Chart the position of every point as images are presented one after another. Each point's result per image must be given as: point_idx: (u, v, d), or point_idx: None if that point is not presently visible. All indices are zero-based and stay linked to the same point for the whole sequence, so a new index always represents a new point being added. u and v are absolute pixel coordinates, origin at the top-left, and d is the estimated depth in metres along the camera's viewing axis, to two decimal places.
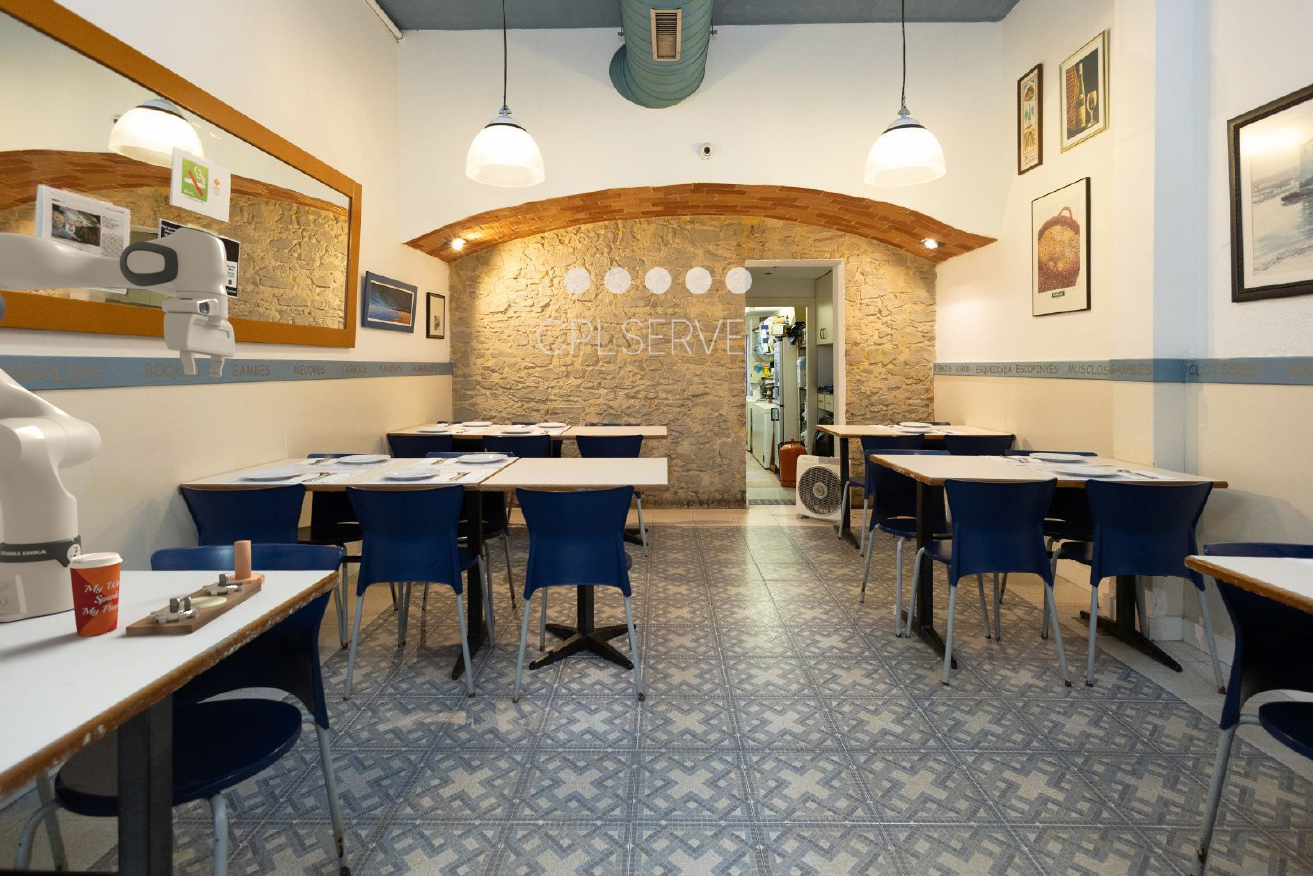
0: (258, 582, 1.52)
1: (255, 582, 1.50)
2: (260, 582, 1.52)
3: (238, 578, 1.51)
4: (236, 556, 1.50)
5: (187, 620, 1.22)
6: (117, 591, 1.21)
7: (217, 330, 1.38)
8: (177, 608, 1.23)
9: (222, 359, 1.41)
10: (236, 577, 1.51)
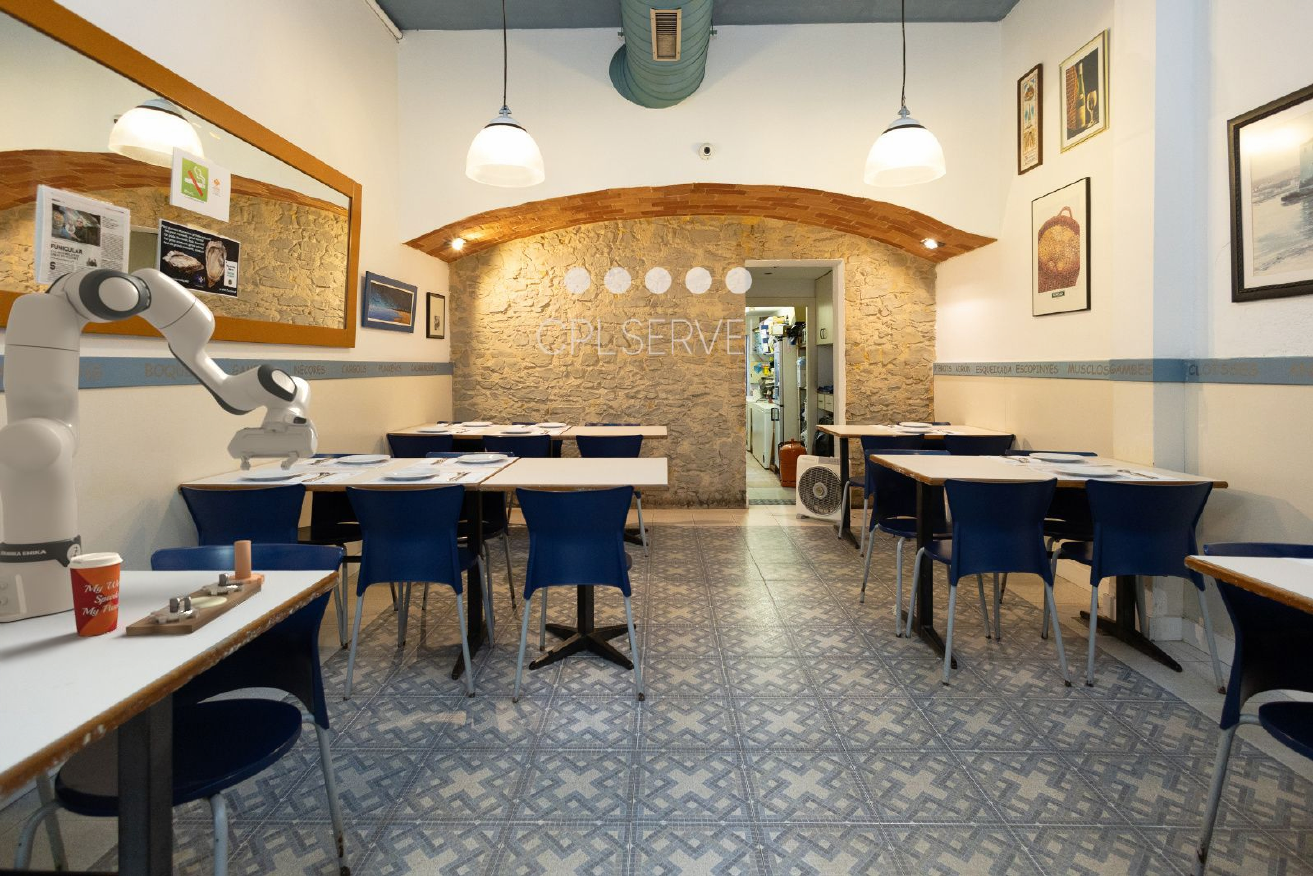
0: (258, 582, 1.52)
1: (255, 582, 1.50)
2: (260, 582, 1.52)
3: (238, 578, 1.51)
4: (236, 556, 1.50)
5: (187, 620, 1.22)
6: (117, 591, 1.21)
7: None
8: (177, 608, 1.23)
9: None
10: (236, 577, 1.51)
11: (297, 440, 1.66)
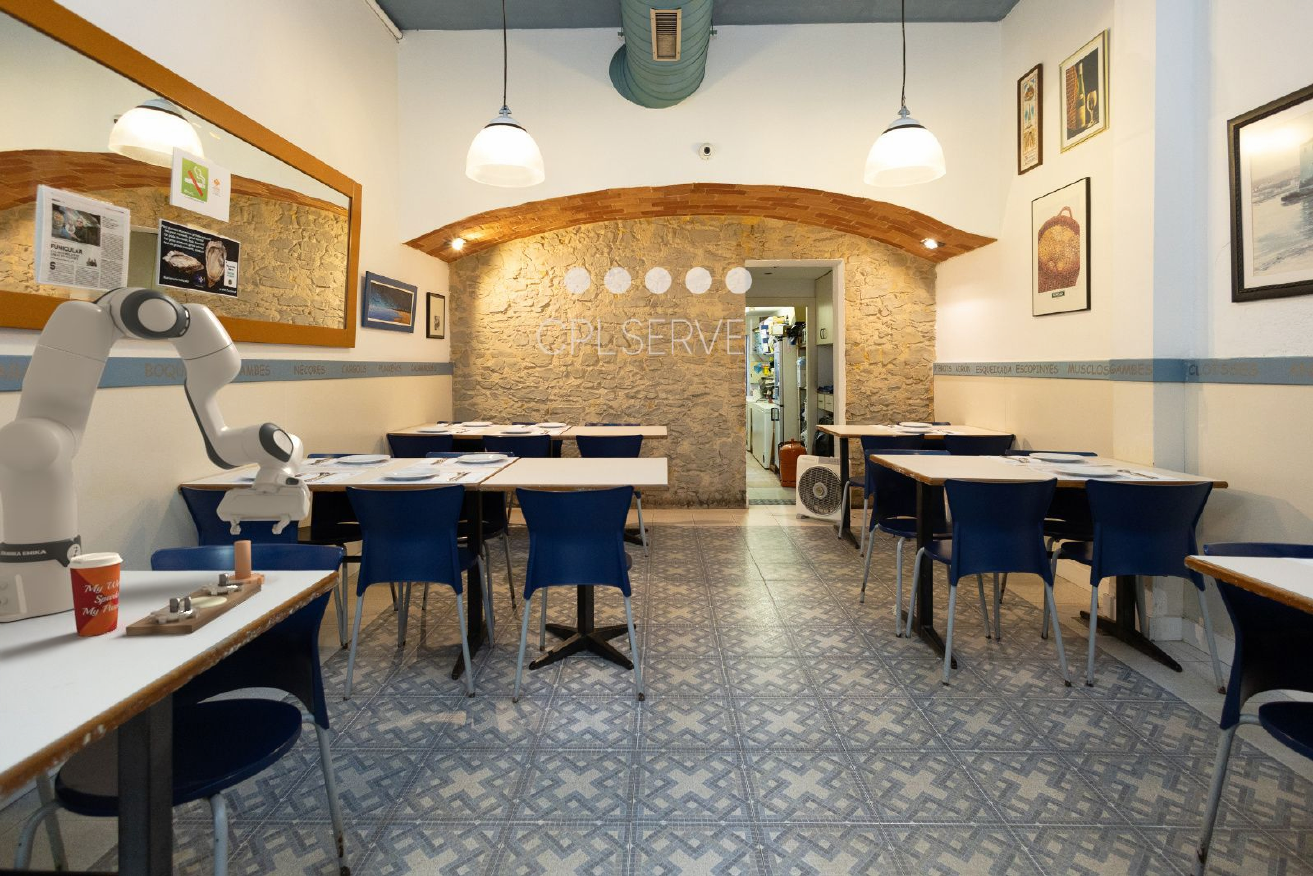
0: (258, 582, 1.52)
1: (255, 582, 1.50)
2: (260, 582, 1.52)
3: (238, 578, 1.51)
4: (236, 556, 1.50)
5: (187, 620, 1.22)
6: (117, 591, 1.21)
7: None
8: (177, 608, 1.23)
9: None
10: (236, 577, 1.51)
11: (289, 502, 1.63)
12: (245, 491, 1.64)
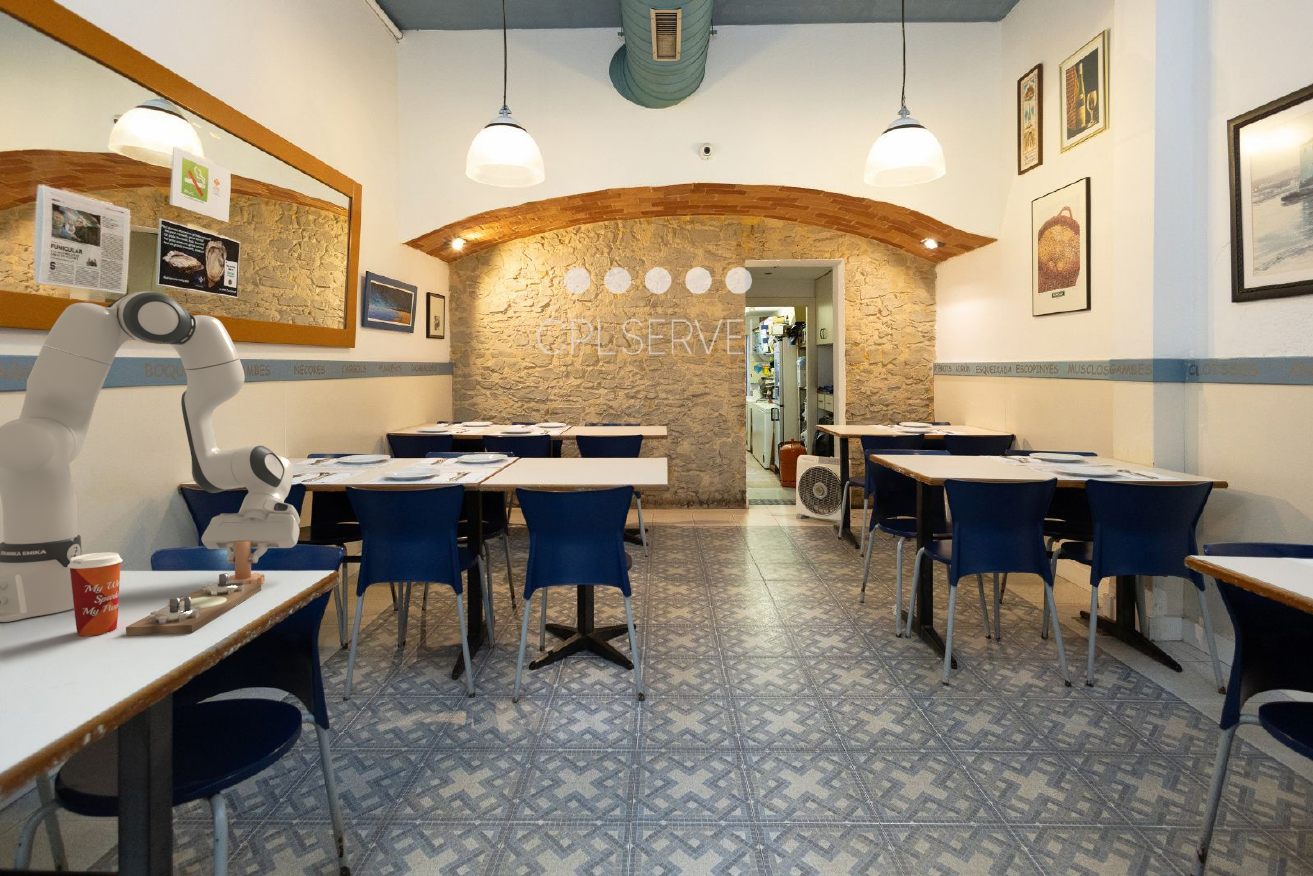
0: (258, 582, 1.52)
1: (255, 582, 1.50)
2: (260, 582, 1.52)
3: (238, 578, 1.51)
4: (236, 556, 1.50)
5: (187, 620, 1.22)
6: (117, 591, 1.21)
7: None
8: (177, 608, 1.23)
9: None
10: (236, 577, 1.51)
11: (277, 529, 1.56)
12: (232, 517, 1.57)
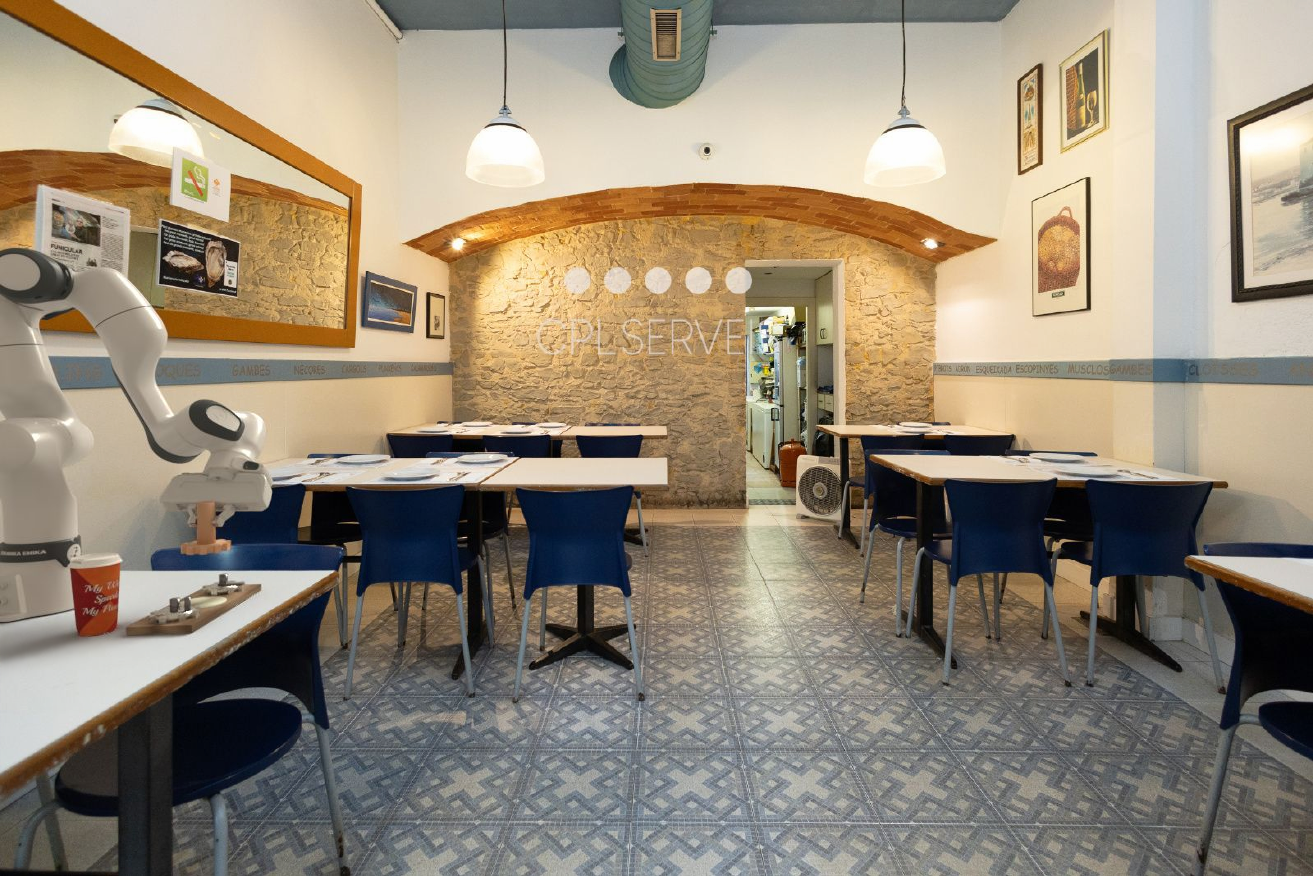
0: (223, 548, 1.35)
1: (220, 548, 1.33)
2: (226, 548, 1.35)
3: (200, 543, 1.33)
4: (198, 518, 1.33)
5: (187, 620, 1.22)
6: (117, 591, 1.21)
7: None
8: (177, 608, 1.23)
9: None
10: (198, 542, 1.33)
11: (246, 490, 1.39)
12: (195, 477, 1.40)
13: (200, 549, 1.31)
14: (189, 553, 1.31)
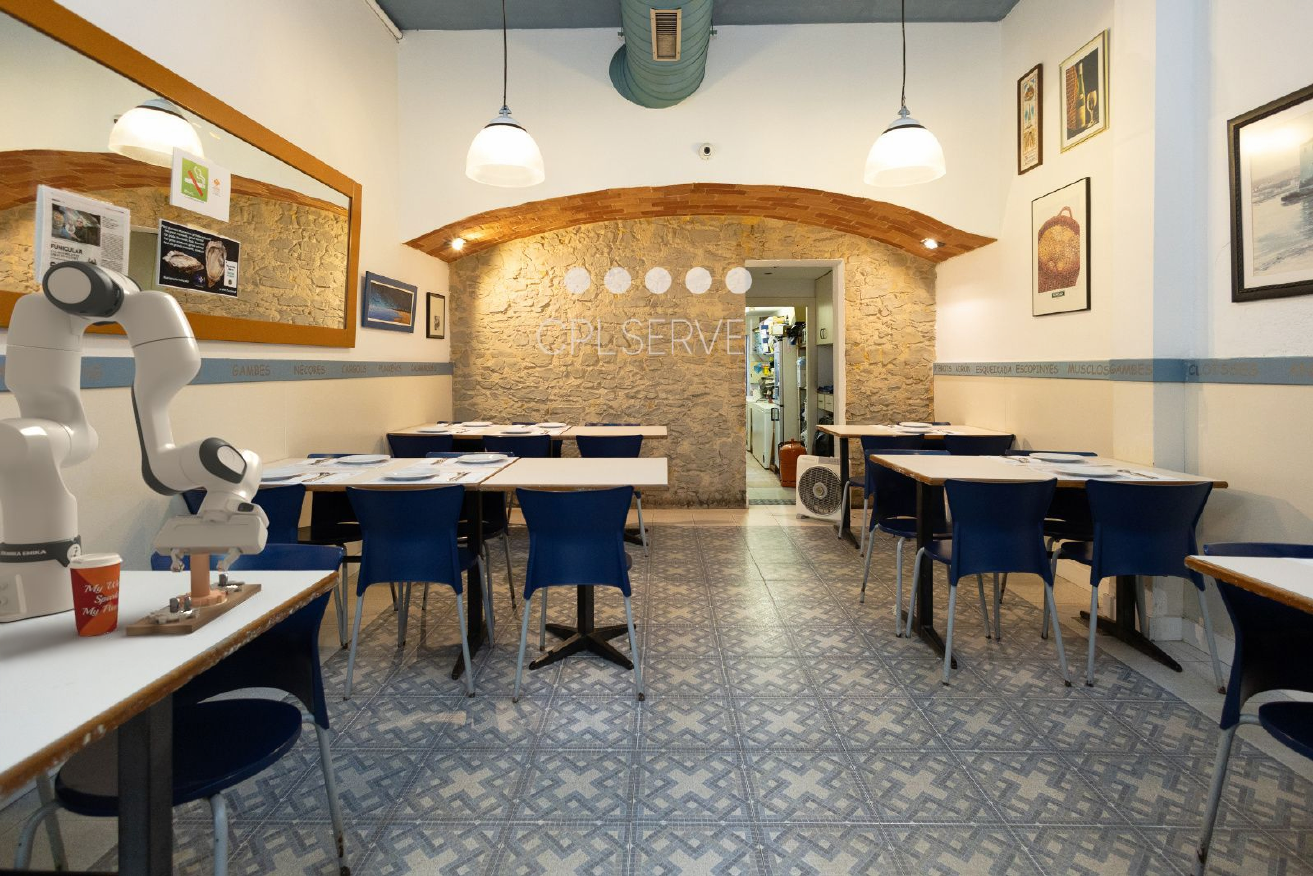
0: (218, 600, 1.32)
1: (214, 601, 1.31)
2: (220, 600, 1.32)
3: (194, 596, 1.31)
4: (192, 571, 1.31)
5: (187, 620, 1.22)
6: (117, 591, 1.21)
7: None
8: (177, 608, 1.23)
9: None
10: (192, 595, 1.31)
11: (241, 533, 1.36)
12: (189, 519, 1.37)
13: (194, 603, 1.28)
14: None
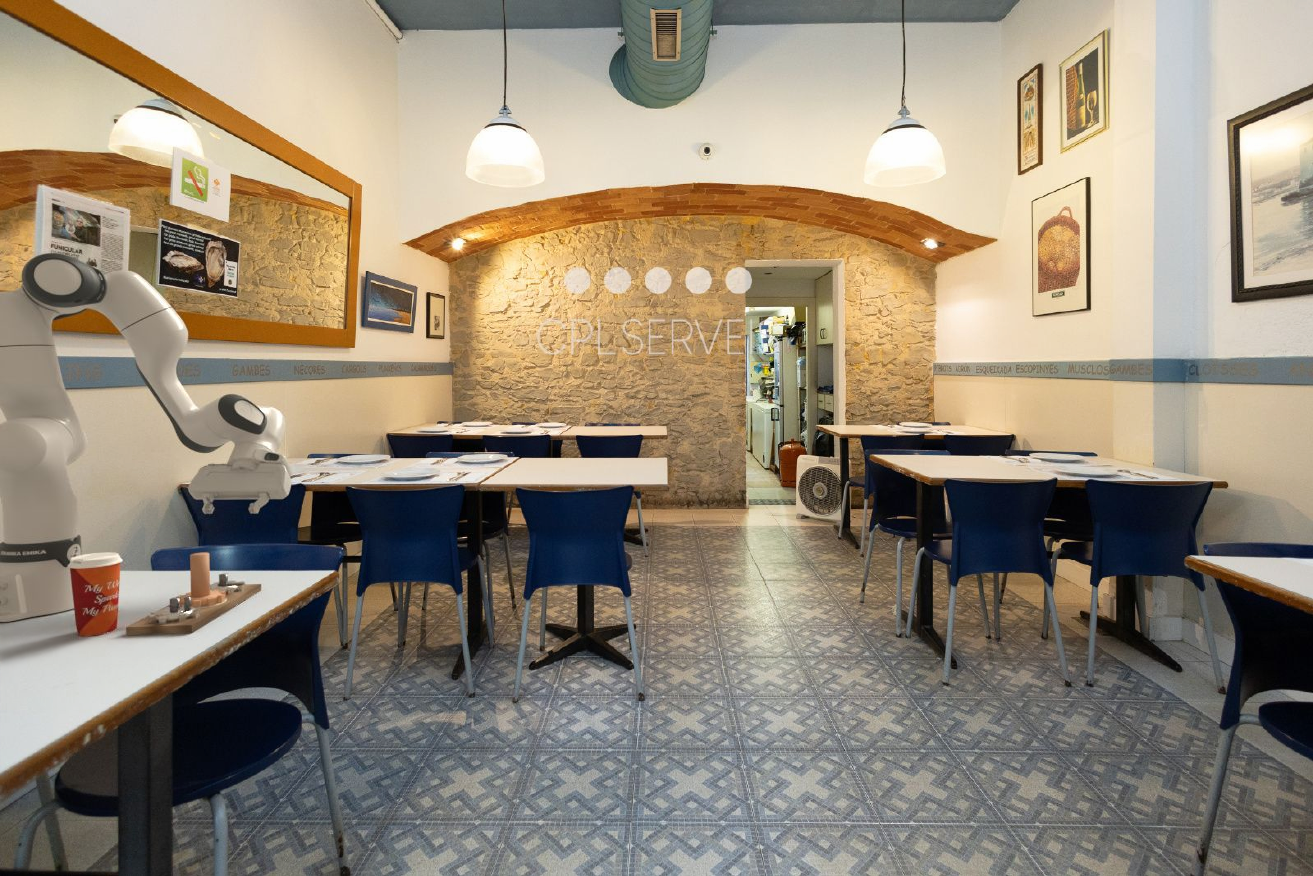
0: (218, 600, 1.32)
1: (214, 601, 1.31)
2: (220, 600, 1.32)
3: (194, 596, 1.31)
4: (192, 571, 1.31)
5: (187, 620, 1.22)
6: (117, 591, 1.21)
7: None
8: (177, 608, 1.23)
9: None
10: (192, 595, 1.31)
11: (268, 480, 1.49)
12: (220, 467, 1.49)
13: (194, 603, 1.28)
14: None
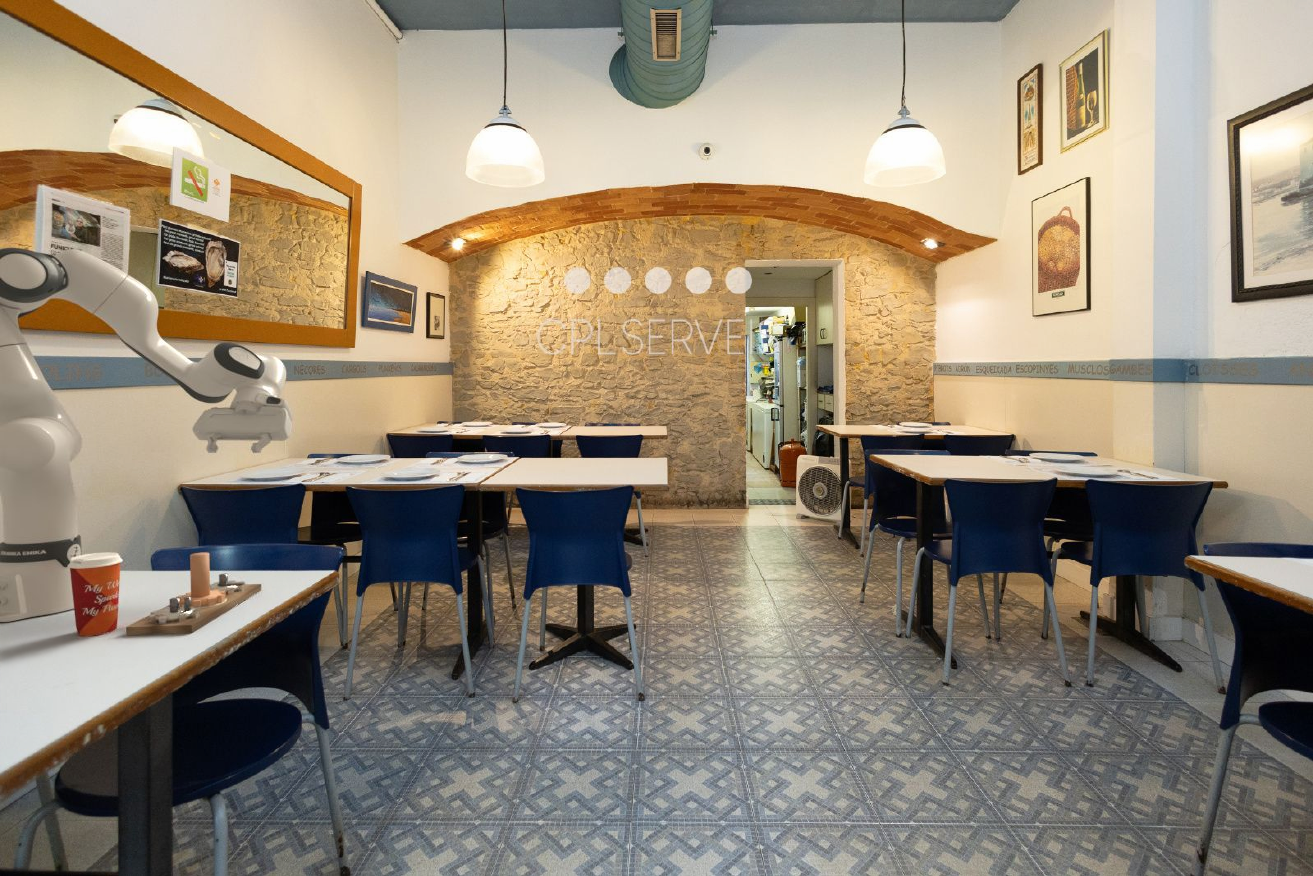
0: (218, 600, 1.32)
1: (214, 601, 1.31)
2: (220, 600, 1.32)
3: (194, 596, 1.31)
4: (192, 571, 1.31)
5: (187, 620, 1.22)
6: (117, 591, 1.21)
7: None
8: (177, 608, 1.23)
9: None
10: (192, 595, 1.31)
11: (269, 421, 1.54)
12: (223, 410, 1.55)
13: (194, 603, 1.28)
14: None
